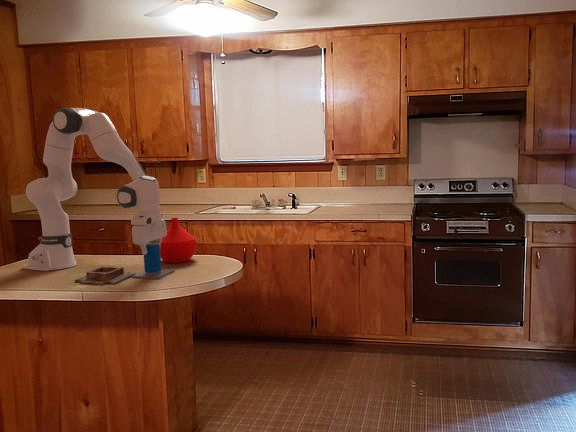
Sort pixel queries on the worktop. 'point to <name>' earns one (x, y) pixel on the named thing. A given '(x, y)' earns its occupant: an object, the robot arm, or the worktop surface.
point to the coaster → (153, 276)
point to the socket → (105, 276)
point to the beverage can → (152, 258)
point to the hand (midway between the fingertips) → (151, 251)
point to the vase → (177, 244)
